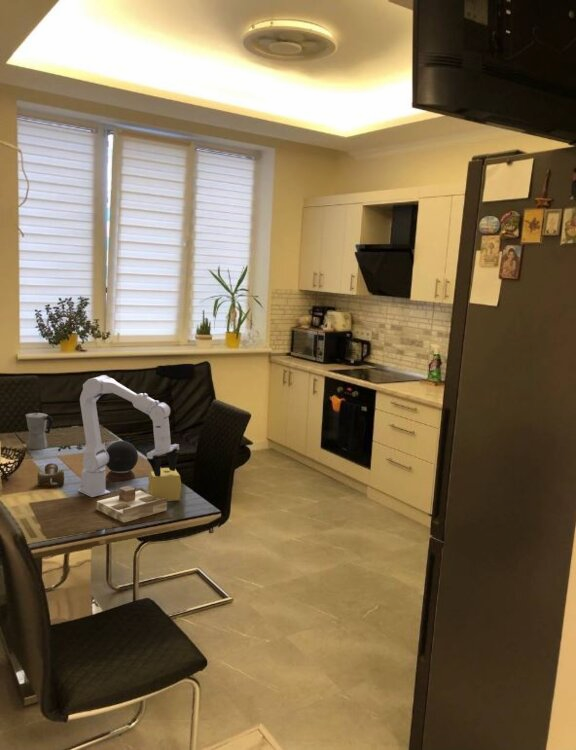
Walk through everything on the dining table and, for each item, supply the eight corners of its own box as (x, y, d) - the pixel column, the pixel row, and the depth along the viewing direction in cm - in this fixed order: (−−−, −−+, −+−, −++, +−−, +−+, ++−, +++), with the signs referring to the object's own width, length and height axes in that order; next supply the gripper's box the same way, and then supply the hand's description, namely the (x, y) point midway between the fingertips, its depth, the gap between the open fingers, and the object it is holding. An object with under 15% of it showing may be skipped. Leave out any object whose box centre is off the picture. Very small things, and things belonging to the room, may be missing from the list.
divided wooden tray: (96, 509, 218) (96, 497, 218) (139, 498, 232) (139, 486, 231) (123, 522, 208) (123, 509, 207) (166, 510, 222) (167, 498, 221)
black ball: (96, 478, 251) (97, 441, 249) (118, 470, 263) (119, 435, 261) (123, 484, 246) (123, 447, 244) (144, 475, 258) (145, 440, 256)
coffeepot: (18, 447, 288) (18, 408, 285) (32, 442, 296) (33, 405, 294) (45, 452, 282) (45, 413, 280) (59, 447, 291) (59, 409, 289)
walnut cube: (118, 499, 221) (119, 488, 221) (128, 496, 224) (128, 485, 224) (125, 502, 219) (125, 491, 218) (135, 499, 222) (135, 488, 221)
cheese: (147, 493, 238) (148, 468, 236) (175, 491, 241) (176, 466, 240) (151, 503, 228) (152, 476, 226) (180, 501, 232) (181, 475, 230)
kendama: (64, 475, 255) (64, 489, 236) (38, 476, 251) (37, 491, 233) (63, 460, 254) (64, 474, 235) (38, 462, 251) (36, 476, 232)
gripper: (155, 442, 219) (158, 479, 220) (184, 433, 231) (186, 469, 232) (141, 440, 223) (144, 477, 224) (170, 432, 235) (172, 467, 236)
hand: (165, 473), depth 229 cm, fingers open, 7 cm apart
